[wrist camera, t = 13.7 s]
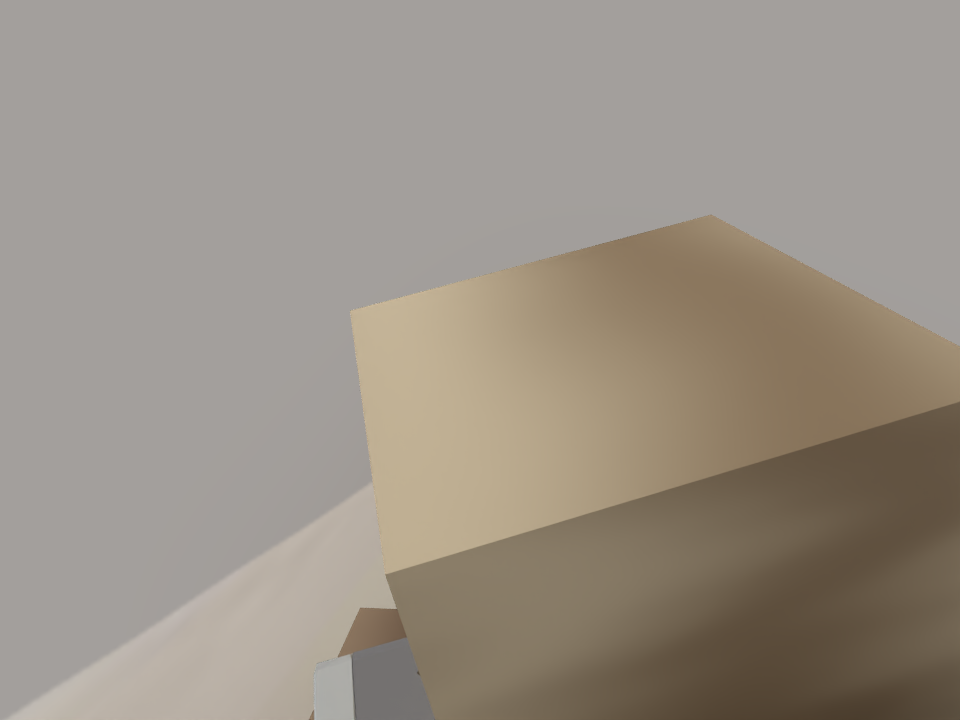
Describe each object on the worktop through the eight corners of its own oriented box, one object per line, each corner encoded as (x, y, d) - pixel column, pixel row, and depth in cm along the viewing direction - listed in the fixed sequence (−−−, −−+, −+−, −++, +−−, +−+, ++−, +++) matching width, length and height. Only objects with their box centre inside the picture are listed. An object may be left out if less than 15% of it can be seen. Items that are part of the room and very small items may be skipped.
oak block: (596, 1183, 11) (386, 574, 5) (511, 839, 15) (349, 311, 10) (911, 1062, 11) (1026, 382, 6) (740, 761, 16) (711, 214, 10)
